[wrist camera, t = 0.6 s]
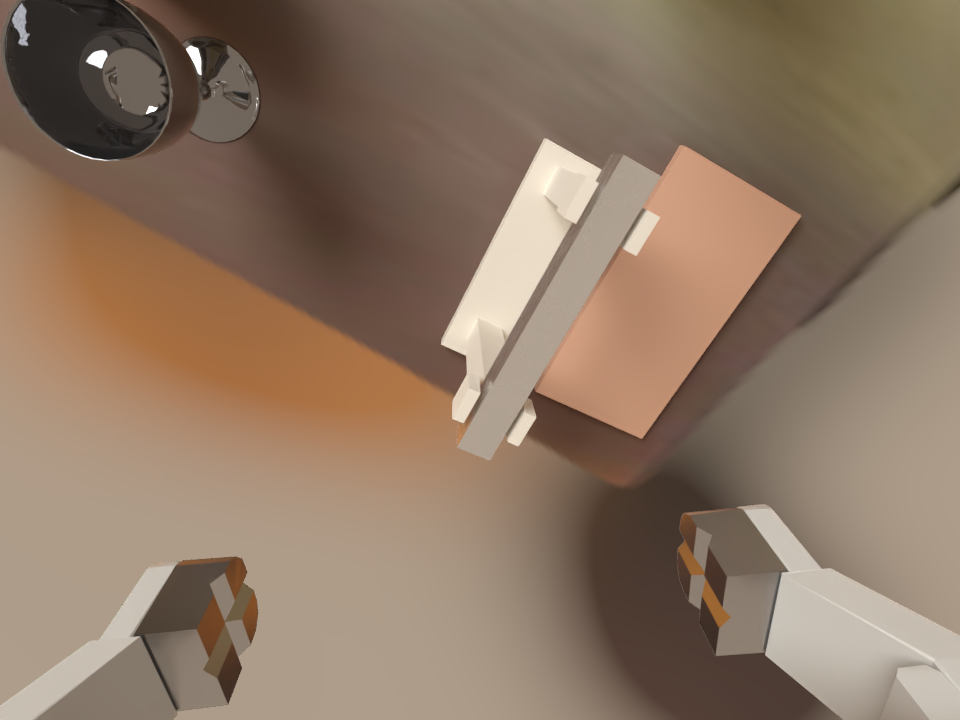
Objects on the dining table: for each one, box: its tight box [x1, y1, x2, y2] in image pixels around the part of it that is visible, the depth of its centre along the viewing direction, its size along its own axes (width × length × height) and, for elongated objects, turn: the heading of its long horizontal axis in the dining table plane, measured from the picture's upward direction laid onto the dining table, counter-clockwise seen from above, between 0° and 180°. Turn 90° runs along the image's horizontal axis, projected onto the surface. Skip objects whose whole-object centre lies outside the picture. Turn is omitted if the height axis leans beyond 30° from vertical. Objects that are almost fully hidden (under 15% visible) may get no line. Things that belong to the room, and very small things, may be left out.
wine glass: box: [1, 0, 260, 161], centre depth 34 cm, size 8×8×15 cm
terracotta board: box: [534, 145, 802, 439], centre depth 49 cm, size 24×12×1 cm, turn 153°
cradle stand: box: [441, 138, 660, 446], centre depth 40 cm, size 19×6×16 cm, turn 153°
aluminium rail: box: [457, 153, 661, 460], centre depth 33 cm, size 20×2×2 cm, turn 153°
